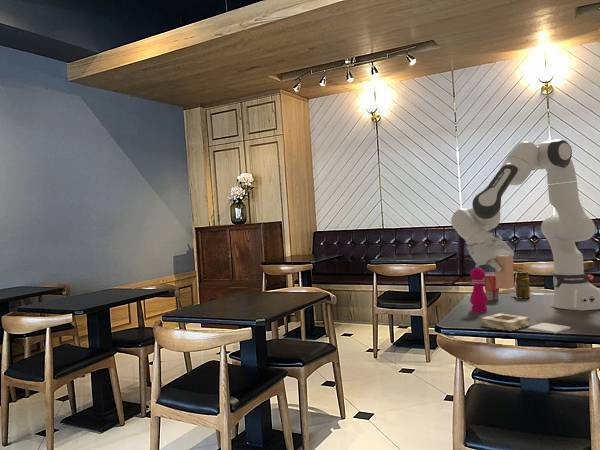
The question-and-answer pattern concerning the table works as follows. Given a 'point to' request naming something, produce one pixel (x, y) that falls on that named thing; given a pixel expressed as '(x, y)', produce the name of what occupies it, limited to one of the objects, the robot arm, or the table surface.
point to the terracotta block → (505, 272)
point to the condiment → (522, 285)
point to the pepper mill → (478, 290)
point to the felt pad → (549, 327)
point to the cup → (491, 286)
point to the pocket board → (505, 321)
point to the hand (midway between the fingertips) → (506, 269)
